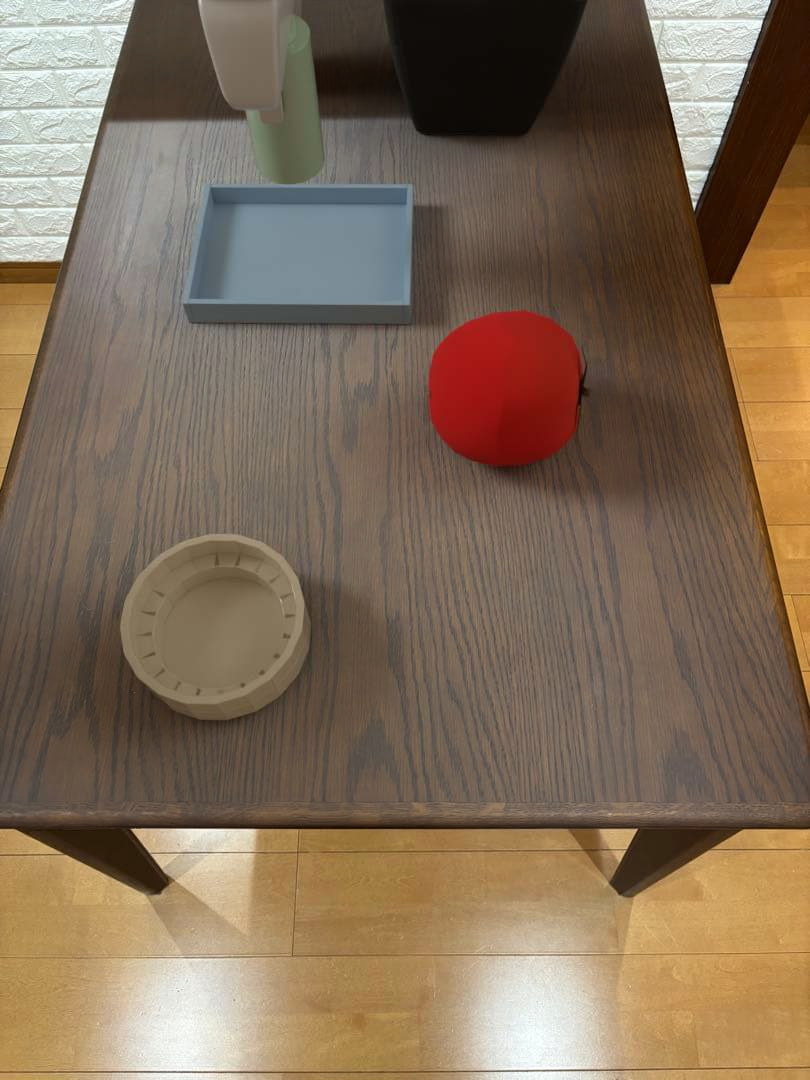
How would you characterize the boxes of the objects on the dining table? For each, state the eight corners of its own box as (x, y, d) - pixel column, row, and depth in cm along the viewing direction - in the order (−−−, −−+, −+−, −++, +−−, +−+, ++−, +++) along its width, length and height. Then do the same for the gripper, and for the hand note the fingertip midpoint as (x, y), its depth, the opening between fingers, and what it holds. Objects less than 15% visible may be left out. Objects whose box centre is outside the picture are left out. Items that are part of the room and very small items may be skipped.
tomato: (422, 458, 75) (569, 472, 74) (418, 460, 62) (594, 476, 62) (435, 316, 73) (585, 329, 73) (433, 288, 61) (614, 303, 60)
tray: (188, 322, 79) (181, 303, 76) (211, 203, 86) (205, 183, 84) (410, 324, 78) (409, 305, 76) (413, 204, 86) (413, 183, 83)
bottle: (252, 184, 71) (207, -28, 55) (259, 138, 73) (218, -77, 58) (322, 184, 70) (296, -29, 55) (327, 138, 73) (303, -77, 58)
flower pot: (563, 156, 89) (592, -8, 74) (387, 157, 89) (381, -6, 74) (550, 48, 97) (574, -119, 82) (390, 49, 98) (385, -116, 83)
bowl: (127, 721, 61) (104, 702, 57) (156, 561, 67) (137, 532, 63) (304, 724, 61) (295, 705, 56) (317, 563, 67) (310, 534, 62)
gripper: (217, -190, 58) (252, 11, 71) (173, -24, 49) (222, 174, 61) (306, -191, 58) (326, 11, 71) (279, -24, 49) (307, 174, 61)
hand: (277, 88), depth 66 cm, fingers closed on bottle, 6 cm apart
